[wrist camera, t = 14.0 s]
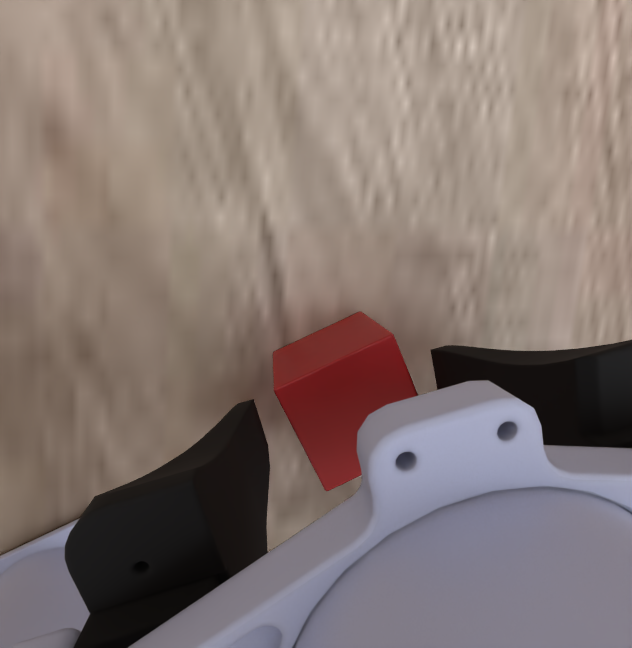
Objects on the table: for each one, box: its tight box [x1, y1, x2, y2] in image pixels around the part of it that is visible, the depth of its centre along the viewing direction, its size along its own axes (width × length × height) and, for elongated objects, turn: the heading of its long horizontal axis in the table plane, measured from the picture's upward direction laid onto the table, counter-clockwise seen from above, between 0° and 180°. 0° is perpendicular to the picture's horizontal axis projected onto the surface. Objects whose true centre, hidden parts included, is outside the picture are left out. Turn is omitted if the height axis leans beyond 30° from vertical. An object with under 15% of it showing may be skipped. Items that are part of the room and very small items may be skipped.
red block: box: [273, 312, 418, 491], centre depth 14 cm, size 4×4×4 cm
